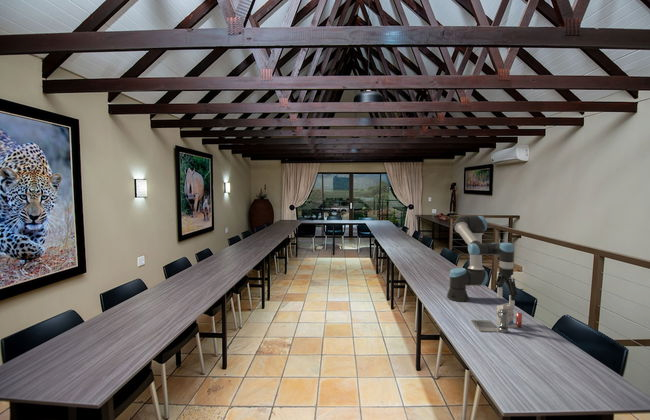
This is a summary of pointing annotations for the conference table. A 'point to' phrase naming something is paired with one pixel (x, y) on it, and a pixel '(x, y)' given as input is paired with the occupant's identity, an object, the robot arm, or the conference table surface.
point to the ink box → (509, 315)
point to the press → (492, 324)
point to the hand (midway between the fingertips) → (505, 301)
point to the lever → (517, 321)
